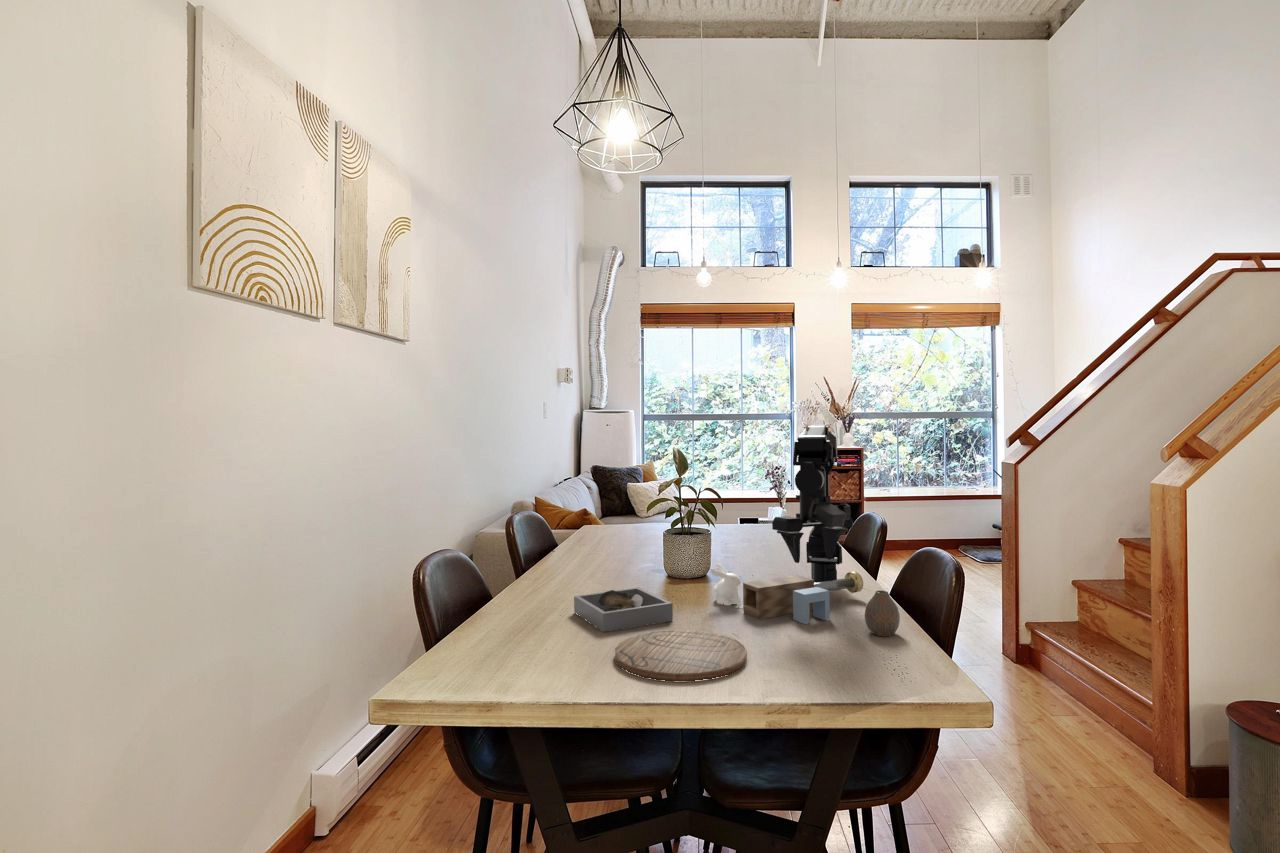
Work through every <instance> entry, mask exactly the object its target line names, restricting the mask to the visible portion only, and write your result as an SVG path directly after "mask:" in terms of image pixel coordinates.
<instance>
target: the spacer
mask: <svg viewBox="0 0 1280 853" xmlns="http://www.w3.org/2000/svg"><path fill="white" fill-rule="evenodd" d="M830 595H831V594H830V591H829V590H826V589H822V588H819V587H814V588H807V589H801V590H794V591H793V613H792V614H793V616H792V619H793V620H794V621H795V622H796V621H797V622H798V621H799V623H801V624H803V623H804V625H808V623H809V624H810V622H811V621H810V620H811V619H810V613H811V612H810V611H811V610H810V608H809V603H812V602H813V610H812V611H813V612H812V613H813V615H812V616H813V617H815V618H818V619H821V620H823V621H829V620H831V618H830V617H831V614H830V613H831V612H830V610H831V609H830V608H831V607H830V603H831V602H830V598H831V597H830Z"/></svg>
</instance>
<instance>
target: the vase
mask: <svg viewBox="0 0 1280 853" xmlns="http://www.w3.org/2000/svg"><path fill="white" fill-rule="evenodd" d="M864 610H865V611H864V620H865V621H864V622H865V626H866V627H867V629H868V630H869V631H870V633H872V634H873V635H874V634H875V635H874V636H878V637H891V636H893V635H894V634H895V633H896V632H897V630H898V629H899V626H900V621H901V620H900V619H901V618H900V617H901V614H900V611H899V607H898V606H897V604H896V603H895V601H894V599H892V597H891V596H890V593H889V592H888V591H886V590H883V589H882V590H876V591H875V592H874V595H873V596H872V597H871V598H870V600H869V601H868V602H867V604H866V607H865V609H864Z"/></svg>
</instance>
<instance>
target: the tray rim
mask: <svg viewBox="0 0 1280 853" xmlns="http://www.w3.org/2000/svg"><path fill="white" fill-rule="evenodd" d="M614 591H617V592H622V593H623V592H625V593H626V594H627V595H628V596H629V594H630V595H631V599H632V597H633V596H634V595H635V594H638V595H640V596H641V597H642V598H643V603H642V604H641V607H635V608H628V609H622V610H617V609H618V606H602V605H600V603H599V602H598V600H599V597H600V596H601V595H602V594H603V593H605V592H606V591H603V592H595V593H589V594H588V593H587V594H580V595H574V596H573V613H574V612H575V613H577V614H578V615H580V616H581V617H583V618H584V619H586V620H587V621H588V622H587V621H586V620H585V621H586V622H587V623H589V622H590V623H591V624H590V623H589V624H590V625H592V624H593V625H594V626H593V625H592V626H593V627H595V626H596V627H597V628H596V627H595V628H596V629H598V628H599V629H600V630H599V629H598V630H599V631H601V630H602V631H603V632H602V631H601V632H602V633H606V632H605V631H609V632H612V631H611V630H615V631H619V630H618V629H621V630H624V629H623V628H627V629H631V628H630V627H633V628H636V627H635V626H639V627H643V626H642V625H645V626H648V625H647V624H651V625H654V624H653V623H657V624H661V623H660V622H663V623H667V622H666V621H669V622H673V621H672V620H674V618H673V615H674V614H673V612H674V611H673V608H674V607H673V602H671V601H669V600H667V599H664V598H662V597H660V596H658V595H656V594H654V593H651V592H649V591H648V590H645V589H643V588H641V587H631V588H623V589H616V590H614ZM610 608H613V609H616V610H611V609H610ZM603 609H607V610H608V611H605V610H603ZM609 610H610V611H609ZM575 613H574V614H575ZM578 615H577V616H578ZM580 616H579V617H580ZM581 617H580V618H581ZM583 618H582V619H583ZM584 619H583V620H584Z"/></svg>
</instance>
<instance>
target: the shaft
mask: <svg viewBox="0 0 1280 853" xmlns="http://www.w3.org/2000/svg"><path fill="white" fill-rule="evenodd" d="M862 577H863V576H862V575H861V574H860V573H859V572H857V571H851V572H847V573H846V574H845V575H844V578H837V580H831V581H824V582H818V583H814V587H819V588H822V589H826V590H829V592H834V591H840V590H847V591H848V592H849V593H852V594H855V593H860V592H861V591H862V590H863V589H864V580H863V578H862Z"/></svg>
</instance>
